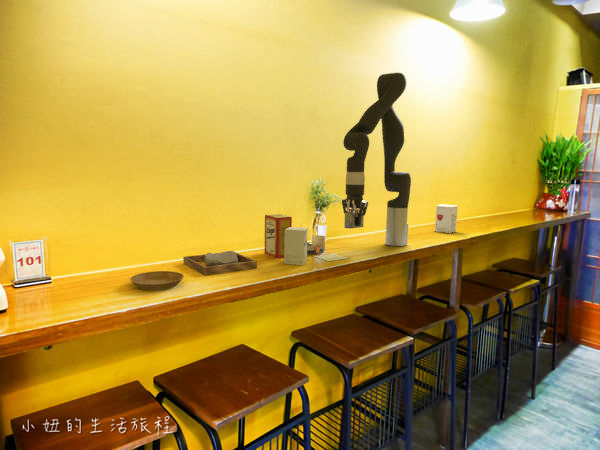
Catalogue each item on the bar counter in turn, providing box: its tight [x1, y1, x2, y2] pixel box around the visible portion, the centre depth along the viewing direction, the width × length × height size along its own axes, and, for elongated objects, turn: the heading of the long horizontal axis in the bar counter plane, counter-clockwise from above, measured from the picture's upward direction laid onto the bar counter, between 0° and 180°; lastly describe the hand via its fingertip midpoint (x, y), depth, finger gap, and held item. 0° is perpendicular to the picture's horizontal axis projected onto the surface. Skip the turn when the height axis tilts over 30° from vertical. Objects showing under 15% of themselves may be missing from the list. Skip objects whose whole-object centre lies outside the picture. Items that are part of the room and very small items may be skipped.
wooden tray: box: [182, 252, 258, 276], centre depth 146 cm, size 19×19×2 cm
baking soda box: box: [264, 213, 293, 259], centre depth 165 cm, size 10×6×16 cm
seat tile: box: [312, 252, 349, 262], centre depth 163 cm, size 10×10×1 cm
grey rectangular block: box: [343, 211, 365, 229], centre depth 171 cm, size 9×4×6 cm, turn 125°
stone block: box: [203, 250, 239, 267], centre depth 149 cm, size 12×5×10 cm
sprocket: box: [307, 234, 326, 253], centre depth 174 cm, size 14×14×6 cm
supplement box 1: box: [283, 226, 309, 266], centre depth 153 cm, size 7×7×13 cm
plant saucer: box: [129, 270, 184, 291], centre depth 122 cm, size 15×15×3 cm
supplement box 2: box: [434, 203, 459, 234], centre depth 234 cm, size 9×9×15 cm
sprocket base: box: [307, 250, 325, 255], centre depth 174 cm, size 13×13×1 cm
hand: (353, 225), depth 171 cm, fingers closed on grey rectangular block, 4 cm apart
